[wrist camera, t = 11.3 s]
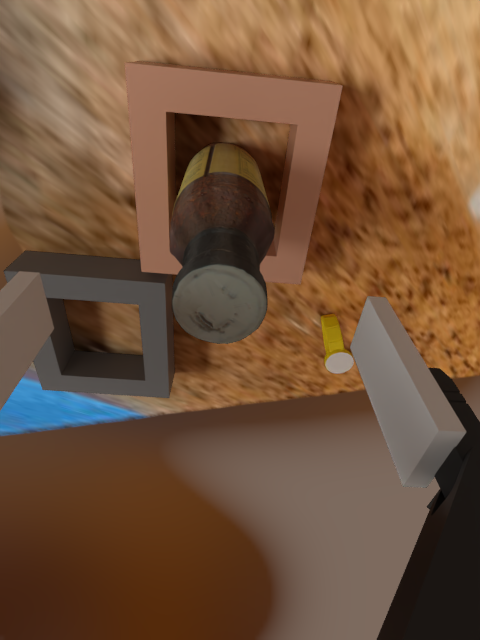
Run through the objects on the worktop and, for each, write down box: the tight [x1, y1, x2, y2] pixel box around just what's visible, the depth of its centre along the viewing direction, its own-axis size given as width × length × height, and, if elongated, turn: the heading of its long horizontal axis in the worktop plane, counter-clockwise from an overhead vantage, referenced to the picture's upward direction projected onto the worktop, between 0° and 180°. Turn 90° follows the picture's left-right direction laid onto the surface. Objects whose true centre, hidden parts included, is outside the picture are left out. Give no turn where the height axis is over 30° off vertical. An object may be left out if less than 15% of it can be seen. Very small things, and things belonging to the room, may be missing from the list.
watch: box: [321, 314, 354, 374], centre depth 38 cm, size 6×3×6 cm, turn 13°
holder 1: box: [4, 251, 175, 398], centre depth 39 cm, size 14×15×4 cm
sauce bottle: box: [170, 143, 275, 344], centre depth 23 cm, size 7×6×20 cm
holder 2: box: [125, 61, 343, 284], centre depth 30 cm, size 14×15×4 cm
